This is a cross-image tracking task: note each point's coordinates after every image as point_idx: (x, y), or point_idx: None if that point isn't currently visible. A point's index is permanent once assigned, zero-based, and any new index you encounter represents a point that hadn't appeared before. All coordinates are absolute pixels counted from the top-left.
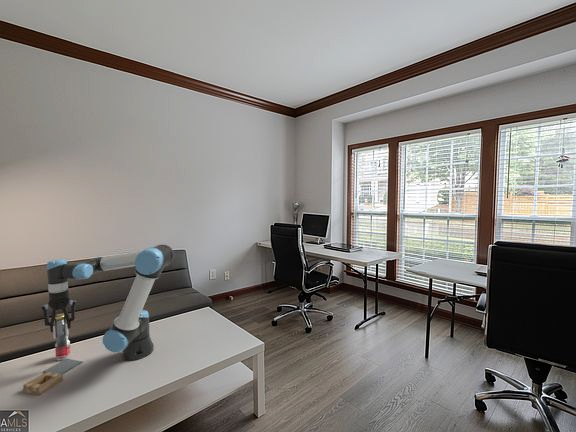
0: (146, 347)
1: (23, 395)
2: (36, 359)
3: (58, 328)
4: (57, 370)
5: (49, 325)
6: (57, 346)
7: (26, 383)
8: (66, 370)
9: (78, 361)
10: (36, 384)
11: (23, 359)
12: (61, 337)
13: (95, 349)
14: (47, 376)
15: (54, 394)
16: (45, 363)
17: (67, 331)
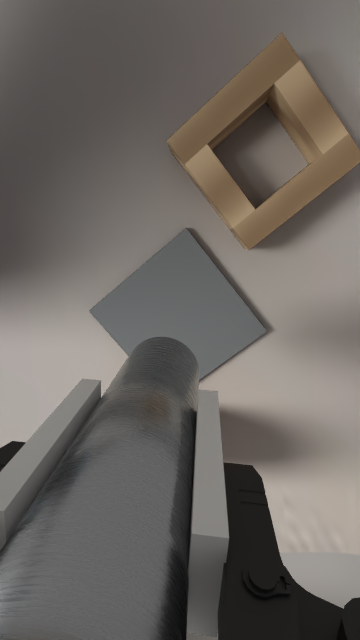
0: None
1: (346, 119)
2: (299, 497)
3: (141, 456)
4: (201, 288)
5: (301, 597)
6: (191, 353)
7: (348, 166)
8: (158, 254)
9: (108, 323)
10: (298, 106)
11: (352, 537)
12: (140, 372)
13: (42, 420)
14: (244, 197)
15: (202, 5)
16: (259, 425)
17: (57, 409)
